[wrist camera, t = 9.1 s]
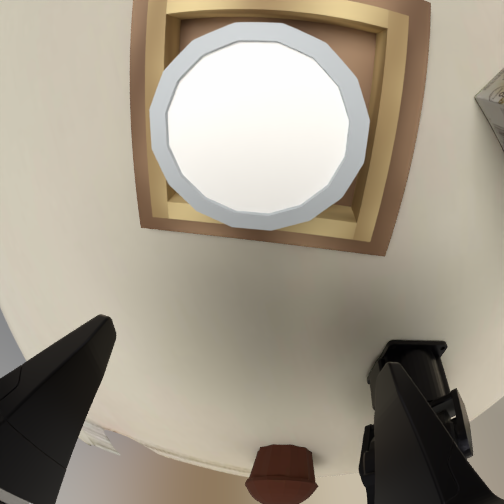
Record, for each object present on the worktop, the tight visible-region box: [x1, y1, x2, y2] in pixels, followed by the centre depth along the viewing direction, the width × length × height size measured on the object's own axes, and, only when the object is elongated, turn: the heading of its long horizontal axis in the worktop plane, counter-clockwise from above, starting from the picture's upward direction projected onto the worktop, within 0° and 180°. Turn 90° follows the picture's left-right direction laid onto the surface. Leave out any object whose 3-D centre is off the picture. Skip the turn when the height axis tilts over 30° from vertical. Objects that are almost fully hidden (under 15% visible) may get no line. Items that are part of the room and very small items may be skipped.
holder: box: [130, 0, 431, 256], centre depth 14 cm, size 16×16×3 cm
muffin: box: [245, 445, 318, 504], centre depth 37 cm, size 12×11×10 cm
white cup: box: [149, 22, 370, 231], centre depth 11 cm, size 7×7×7 cm
